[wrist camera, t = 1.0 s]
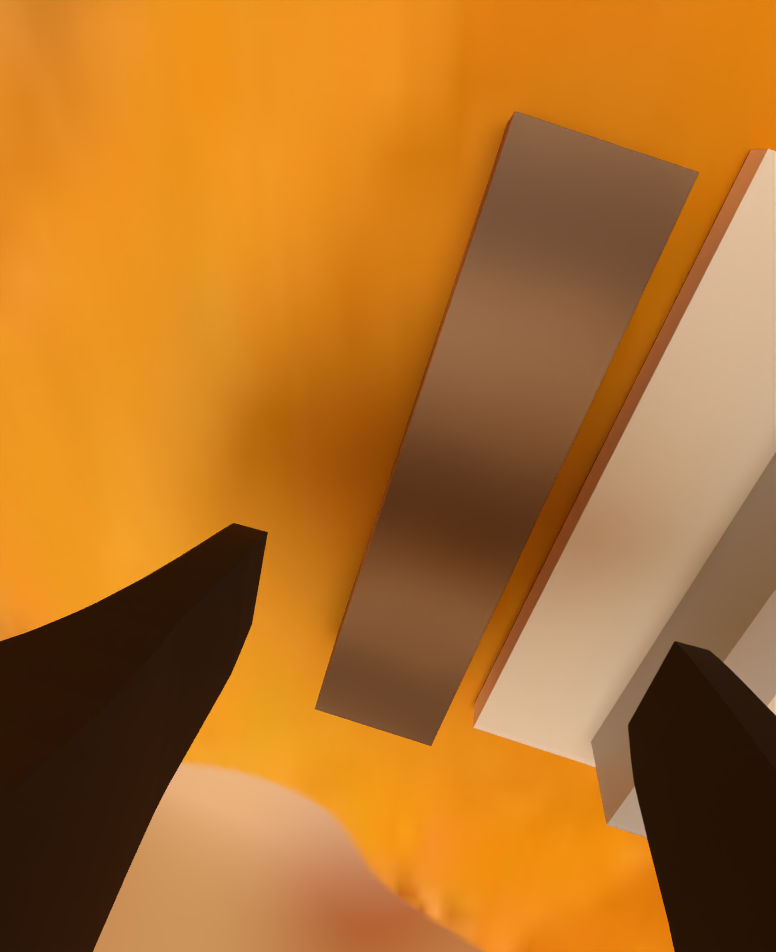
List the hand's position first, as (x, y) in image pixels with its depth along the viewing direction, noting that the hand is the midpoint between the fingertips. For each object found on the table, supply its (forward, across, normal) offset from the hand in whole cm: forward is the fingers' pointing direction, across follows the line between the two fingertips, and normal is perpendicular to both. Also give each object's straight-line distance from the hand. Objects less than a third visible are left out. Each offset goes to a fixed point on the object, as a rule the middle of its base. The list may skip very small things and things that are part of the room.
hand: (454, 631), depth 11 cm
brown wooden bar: (+8, 0, 0) cm, 8 cm away
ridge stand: (+8, -8, 0) cm, 11 cm away
